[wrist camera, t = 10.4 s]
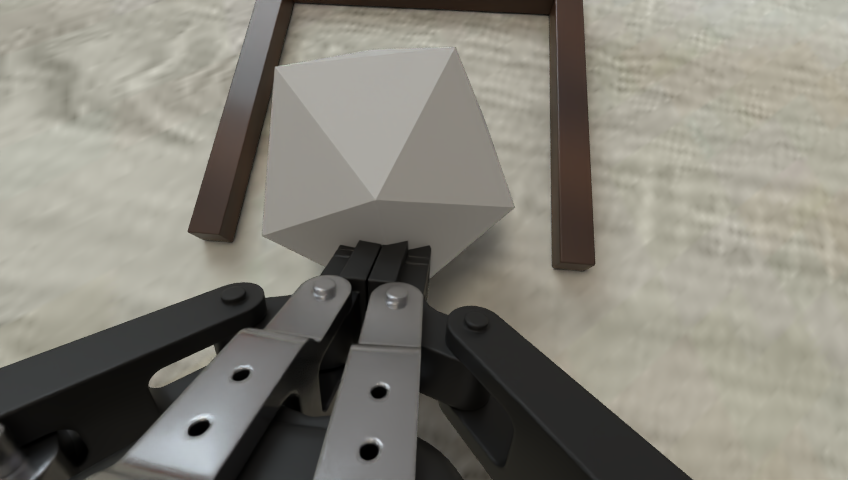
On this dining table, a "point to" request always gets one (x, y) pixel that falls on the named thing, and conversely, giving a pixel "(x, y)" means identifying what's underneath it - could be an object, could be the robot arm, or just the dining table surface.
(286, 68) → the die
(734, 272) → the dining table surface
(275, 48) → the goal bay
